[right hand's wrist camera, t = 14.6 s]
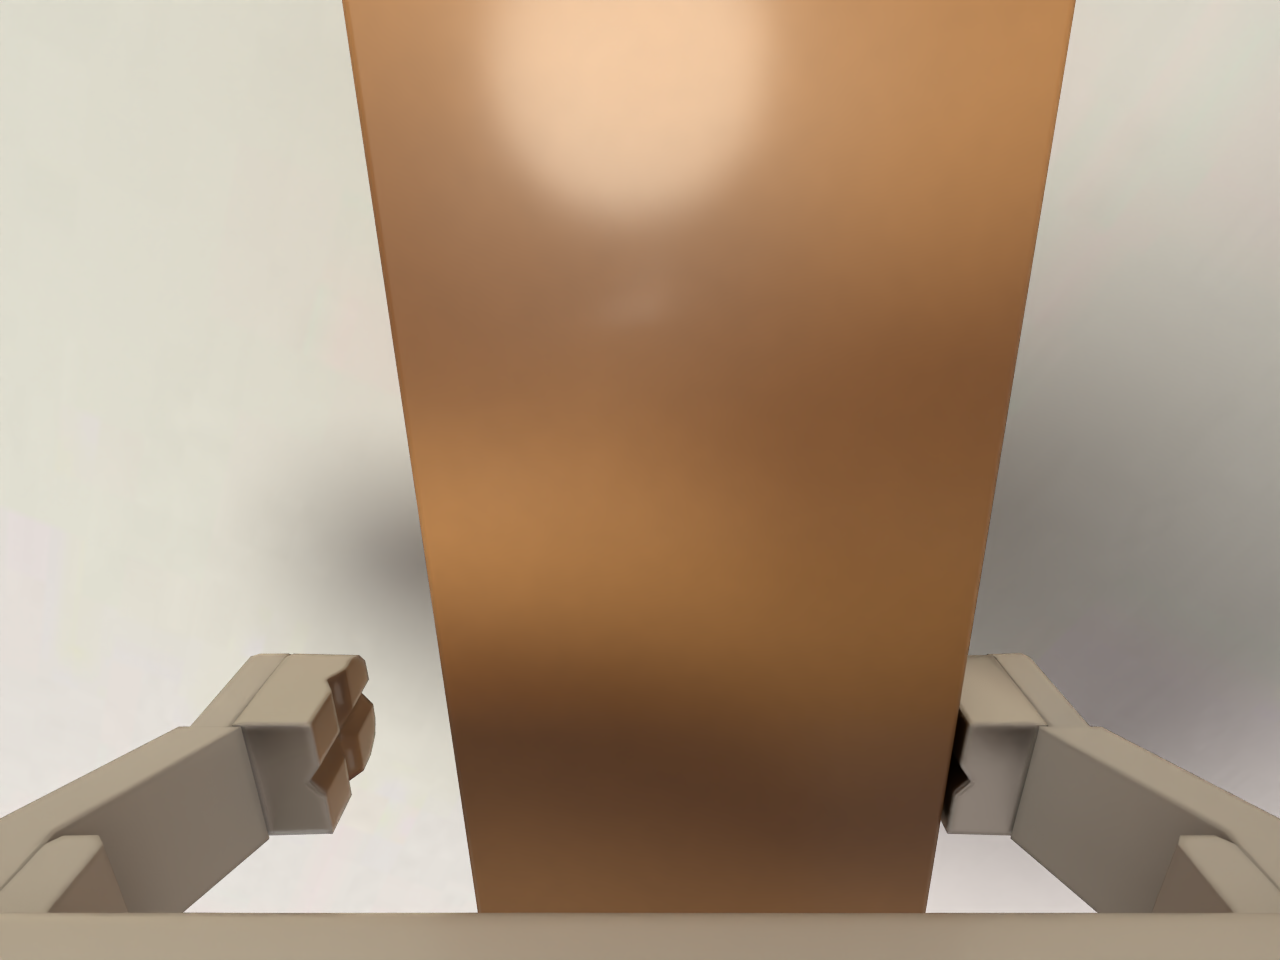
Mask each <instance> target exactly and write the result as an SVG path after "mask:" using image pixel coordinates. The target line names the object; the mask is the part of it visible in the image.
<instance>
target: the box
mask: <svg viewBox="0 0 1280 960" xmlns="http://www.w3.org/2000/svg"><path fill="white" fill-rule="evenodd" d="M1075 1H1076V0H342V3H343V10H344V16H345V23H346V30H347V37H348V43H349V50H350V57H351V63H352V70H353V77H354V84H355V90H356V97H357V104H358V110H359V117H360V124H361V131H362V137H363V144H364V151H365V157H366V164H367V171H368V178H369V184H370V191H371V198H372V204H373V211H374V218H375V225H376V231H377V238H378V245H379V251H380V258H381V265H382V272H383V278H384V285H385V292H386V298H387V305H388V312H389V319H390V325H391V332H392V339H393V345H394V352H395V359H396V366H397V372H398V379H399V386H400V392H401V399H402V406H403V413H404V419H405V426H406V433H407V439H408V446H409V453H410V460H411V466H412V473H413V480H414V486H415V493H416V500H417V507H418V513H419V520H420V527H421V533H422V540H423V547H424V554H425V560H426V567H427V574H428V580H429V587H430V594H431V601H432V607H433V614H434V621H435V627H436V634H437V641H438V648H439V654H440V661H441V668H442V674H443V681H444V688H445V695H446V701H447V708H448V715H449V721H450V728H451V735H452V742H453V748H454V755H455V762H456V768H457V775H458V782H459V789H460V795H461V802H462V809H463V815H464V822H465V829H466V836H467V842H468V849H469V856H470V862H471V869H472V876H473V883H474V889H475V896H476V903H477V909H478V913H925V912H926V906H927V900H928V893H929V887H930V881H931V875H932V869H933V863H934V857H935V851H936V845H937V839H938V833H939V827H940V821H941V815H942V809H943V802H944V796H945V790H946V784H947V778H948V772H949V766H950V760H951V754H952V748H953V742H954V736H955V730H956V724H957V717H958V711H959V705H960V699H961V693H962V687H963V681H964V675H965V669H966V663H967V657H968V651H969V645H970V639H971V633H972V626H973V620H974V614H975V608H976V602H977V596H978V590H979V584H980V578H981V572H982V566H983V560H984V554H985V548H986V542H987V535H988V529H989V523H990V517H991V511H992V505H993V499H994V493H995V487H996V481H997V475H998V469H999V463H1000V457H1001V450H1002V444H1003V438H1004V432H1005V426H1006V420H1007V414H1008V408H1009V402H1010V396H1011V390H1012V384H1013V378H1014V372H1015V366H1016V359H1017V353H1018V347H1019V341H1020V335H1021V329H1022V323H1023V317H1024V311H1025V305H1026V299H1027V293H1028V287H1029V281H1030V274H1031V268H1032V262H1033V256H1034V250H1035V244H1036V238H1037V232H1038V226H1039V220H1040V214H1041V208H1042V202H1043V196H1044V190H1045V183H1046V177H1047V171H1048V165H1049V159H1050V153H1051V147H1052V141H1053V135H1054V129H1055V123H1056V117H1057V111H1058V105H1059V99H1060V92H1061V86H1062V80H1063V74H1064V68H1065V62H1066V56H1067V50H1068V44H1069V38H1070V32H1071V26H1072V20H1073V14H1074V7H1075Z"/></svg>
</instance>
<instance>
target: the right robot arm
mask: <svg viewBox="0 0 1280 960" xmlns="http://www.w3.org/2000/svg"><path fill="white" fill-rule="evenodd" d="M368 680H369V677H368V672H367V668H366V663H365V660H364V659H363V658H362V657H361V656H359V655H332V654H257V655H254V656H251V657H250V658H249V659H248V660H247V661H246V663H245V664H244V665H243V666H242V667H241V668H240V670H239V671H238V672H237V673H236V674H235V675H234V676H233V678H232V679H231V680H230V681H229V682H228V683H227V685H226V686H225V687H224V688H223V689H222V690H221V691H220V693H219V694H218V695H217V696H216V697H215V698H214V700H213V701H212V702H211V703H210V704H209V705H208V706H207V708H206V709H205V710H204V711H203V712H202V713H201V715H200V716H199V717H198V718H197V719H196V720H195V722H194V723H193V724H192V725H191V726H190V727H177V728H175V729H173V730H171V731H170V732H168V733H166V734H164V735H162V736H160V737H158V738H156V739H154V740H152V741H150V742H148V743H146V744H144V745H142V746H140V747H138V748H136V749H135V750H133V751H131V752H129V753H127V754H125V755H123V756H121V757H119V758H117V759H115V760H113V761H111V762H109V763H107V764H105V765H103V766H101V767H100V768H98V769H96V770H94V771H92V772H90V773H88V774H86V775H84V776H82V777H80V778H78V779H76V780H74V781H72V782H70V783H68V784H66V785H65V786H63V787H61V788H59V789H57V790H55V791H53V792H51V793H49V794H47V795H45V796H43V797H41V798H39V799H37V800H35V801H33V802H31V803H30V804H28V805H26V806H24V807H22V808H20V809H18V810H16V811H14V812H12V813H10V814H8V815H6V816H4V817H2V818H0V960H1280V819H1279V818H1277V817H1275V816H1273V815H1271V814H1270V813H1268V812H1266V811H1264V810H1262V809H1260V808H1258V807H1256V806H1254V805H1252V804H1250V803H1248V802H1246V801H1244V800H1242V799H1240V798H1239V797H1237V796H1235V795H1233V794H1231V793H1229V792H1227V791H1225V790H1223V789H1221V788H1219V787H1217V786H1215V785H1213V784H1211V783H1209V782H1208V781H1206V780H1204V779H1202V778H1200V777H1198V776H1196V775H1194V774H1192V773H1190V772H1188V771H1186V770H1184V769H1182V768H1180V767H1178V766H1176V765H1175V764H1173V763H1171V762H1169V761H1167V760H1165V759H1163V758H1161V757H1159V756H1157V755H1155V754H1153V753H1151V752H1149V751H1147V750H1145V749H1144V748H1142V747H1140V746H1138V745H1136V744H1134V743H1132V742H1130V741H1128V740H1126V739H1124V738H1122V737H1120V736H1118V735H1116V734H1114V733H1113V732H1111V731H1109V730H1107V729H1105V728H1103V727H1090V726H1089V725H1088V724H1087V723H1086V721H1085V720H1084V719H1083V718H1082V717H1081V716H1080V714H1079V713H1078V712H1077V711H1076V710H1075V709H1074V708H1073V706H1072V705H1071V704H1070V703H1069V702H1068V701H1067V699H1066V698H1065V697H1064V696H1063V695H1062V694H1061V693H1060V691H1059V690H1058V689H1057V688H1056V687H1055V686H1054V684H1053V683H1052V682H1051V681H1050V680H1049V679H1048V678H1047V676H1046V675H1045V674H1044V673H1043V672H1042V671H1041V669H1040V668H1039V667H1038V666H1037V665H1036V664H1035V663H1034V661H1033V660H1032V659H1031V658H1030V657H1028V656H1026V655H1024V654H1022V653H1009V654H987V655H968V657H967V663H966V669H965V675H964V681H963V687H962V693H961V699H960V705H959V711H958V717H957V724H956V730H955V736H954V742H953V748H952V754H951V760H950V766H949V772H948V778H947V784H946V790H945V796H944V802H943V809H942V815H941V821H942V823H943V825H944V827H945V829H946V831H947V833H948V834H980V835H1011V839H1012V840H1013V841H1014V842H1016V843H1017V844H1018V845H1019V846H1020V847H1021V848H1023V849H1024V850H1025V851H1026V852H1027V853H1028V854H1030V855H1031V856H1032V857H1033V858H1034V859H1035V860H1037V861H1038V862H1039V863H1040V864H1041V865H1042V866H1044V867H1045V868H1046V869H1047V870H1048V871H1049V872H1051V873H1052V874H1053V875H1054V876H1055V877H1056V878H1058V879H1059V880H1060V881H1061V882H1062V883H1063V884H1065V885H1066V886H1067V887H1068V888H1069V889H1070V890H1072V891H1073V892H1074V893H1075V894H1076V895H1077V896H1079V897H1080V898H1081V899H1082V900H1083V901H1085V902H1086V903H1087V904H1088V905H1089V906H1090V907H1092V908H1093V909H1094V910H1095V911H1096V912H1097V913H183V912H184V911H185V910H186V909H188V908H189V907H190V906H191V905H192V904H193V903H195V902H196V901H197V900H198V899H199V898H200V897H202V896H203V895H204V894H205V893H206V892H208V891H209V890H210V889H211V888H212V887H213V886H215V885H216V884H217V883H218V882H219V881H220V880H222V879H223V878H224V877H225V876H226V875H227V874H229V873H230V872H231V871H232V870H233V869H234V868H236V867H237V866H238V865H239V864H240V863H242V862H243V861H244V860H245V859H246V858H247V857H249V856H250V855H251V854H252V853H253V852H254V851H256V850H257V849H258V848H259V847H260V846H261V845H263V844H264V843H265V842H266V841H267V840H268V839H269V835H299V834H333V832H334V830H335V828H336V826H337V824H338V822H339V820H340V818H341V816H342V814H343V812H344V810H345V808H346V806H347V803H348V801H349V799H350V797H351V795H352V793H351V788H350V782H349V781H350V780H351V779H352V778H354V777H355V776H357V775H358V774H359V773H361V772H362V771H363V770H364V769H365V766H366V764H367V762H368V760H369V758H370V755H371V752H372V747H373V742H374V738H375V713H374V706H373V704H372V703H371V702H370V701H369V700H368V699H367V698H366V697H365V696H364V695H363V694H362V691H363V689H364V687H365V685H366V684H367V682H368Z"/></svg>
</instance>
